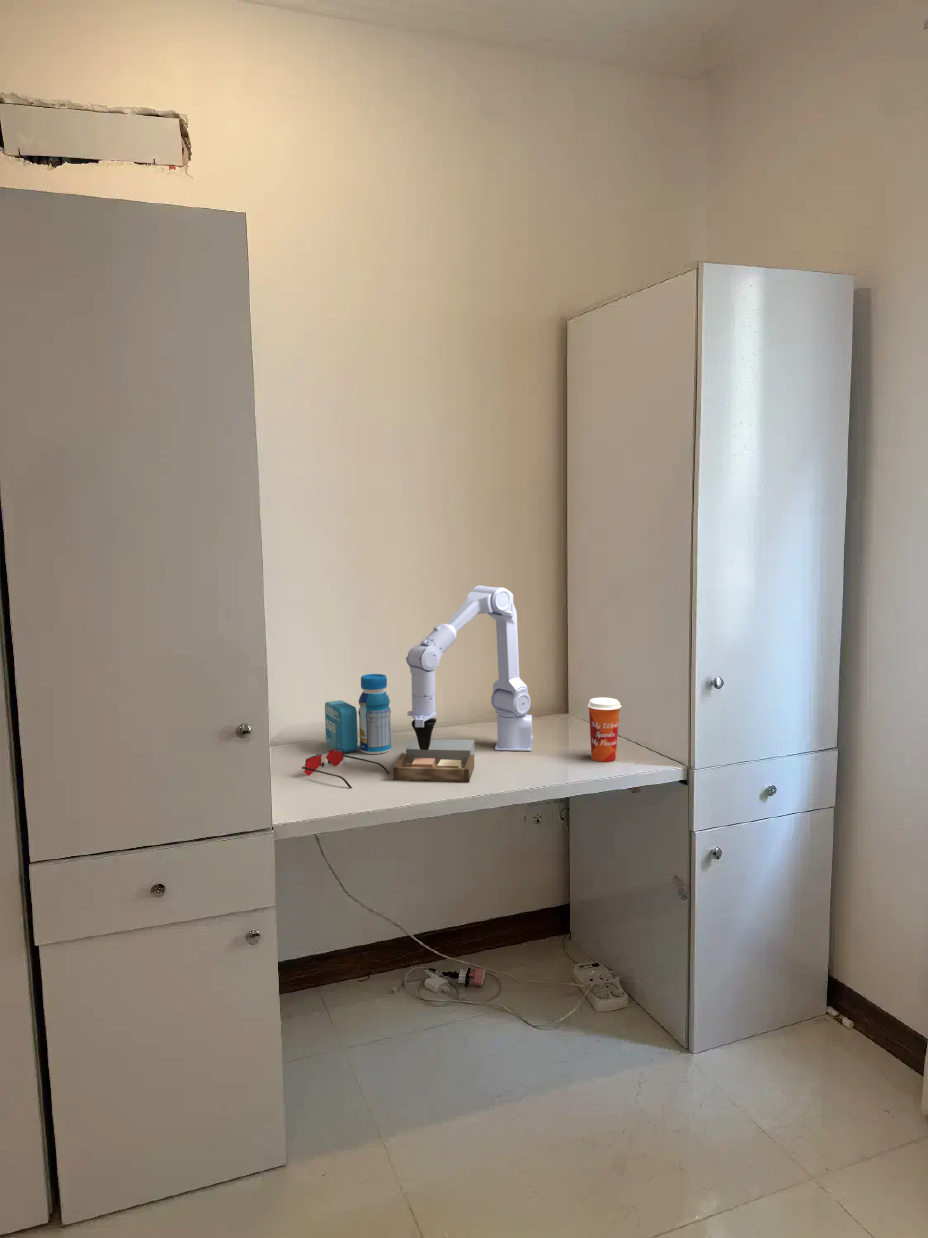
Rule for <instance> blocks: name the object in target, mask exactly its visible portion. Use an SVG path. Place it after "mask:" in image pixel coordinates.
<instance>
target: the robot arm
mask: <svg viewBox="0 0 928 1238" xmlns="http://www.w3.org/2000/svg"><path fill="white" fill-rule="evenodd" d="M466 596H467V598H466V600H465V601H464V602H463V603H462V604H461V606H460V607H459V608H458V609H457V611H456V612H455V613H454V614H453V615H452V616H451V618H450V619H449V620H448V621H447V622H446V623H440V624H436V625H435V626H434V627H433V630H432V631H431V632H430V633H429V634H428V635H427V636H426V637H425V638H423V639H422V640H421V642H420V643H419V644H417V645H413V646H412V647H411V648H410V649H409V650H408V653H407V656H405V661H406V663H407V665H408V667H409V670H410V674H411V676H410V677H411V710H409V711H407V715H406V716H409V717H412V718H413V720H411V727H412V728H413V730H414V733H415V736H416V739H417V740H418V744H419V748H420V750H428V749H429V747H430V742H431V739H432V735H433V731H434V727H435V724H436V722H437V718H435V717H437V711H436V707H437V706H436V669H437V668H439V665H440V663H441V659H442V657H443V655H444V653H445V652H446V651H447V650H449V648H450V647H451V646H452V645H453V644H454V643H455V642H456V640H457V633H459V631H460V630H462V629H463V628H464V627H466V625H467V624H468V623H470V621H471V620H473V619H474V618H475V617H476V616H477V615H484V614H487V615H489V616H490V617H491V618H492V619H494V621H495V626H496V627H495V628H496V629H495V630H496V650H497V669H498V671H497V672H498V679H497V680H495V682H494V683H493V686H492V689H493V690H492V693H491V697H490V702H491V703H490V704H491V705H492V707H493V708H494V710H495V714H497V715H496V716H497V719H496V723H497V725H496V726H497V727H496V728H497V731H496V732H497V740H496V744H495V747H494V750H495V751H511V752H512V751H517V752H521V751H522V752H531V751H532V748H533V747H532V746H533V743H534V735H533V715H532V714H527V713H528V712H529V710H530V707H531V704H532V701H531V696H530V694H529V689H528V686H527V684H526V683H525V682H524V681H523V680H522V679H521V677H520V659H519V658H520V657H519V639H518V638H519V637H518V636H519V634H518V631H519V630H518V614H517V613H518V612H517V609H516V606H515V605H514V604H515V603H514V594H513V593H512V592H511V591H510V590H509V589H507V588H505V587H495V586H486V585H485V586H484V585H482V584H481V585H476V586H474V587H473V589H472V590H471V591H470V592H468V593H467V595H466Z"/></svg>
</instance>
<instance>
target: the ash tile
mask: <svg viewBox="0 0 928 1238" xmlns="http://www.w3.org/2000/svg"><path fill="white" fill-rule="evenodd" d="M437 768H461V760H440V762H439V763H438V765H437Z"/></svg>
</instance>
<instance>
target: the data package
mask: <svg viewBox="0 0 928 1238" xmlns="http://www.w3.org/2000/svg"><path fill="white" fill-rule="evenodd" d="M324 723H325V724H324V726H325V727H324V728H325V742H326V744H327V746H329V747H330V748H331V749H332V750H334V749H337V748H341V749H343V751H344V754H346V752H347V753H352V752H356V751H358V749H359V745H358V743H359V742H358V741H359V740H358V711H357V708H356V706H354V705H352V704H350V703H349V702H346V701H344V700H342V699H339V700H332V701H331V700H330V701H325V703H324ZM341 749H337V750H336V751H340V752H343V751H342V750H341Z"/></svg>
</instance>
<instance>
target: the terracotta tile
mask: <svg viewBox="0 0 928 1238" xmlns="http://www.w3.org/2000/svg"><path fill="white" fill-rule="evenodd" d="M412 767H434V768H435V758H415V759H414V761H413V763H412Z"/></svg>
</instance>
